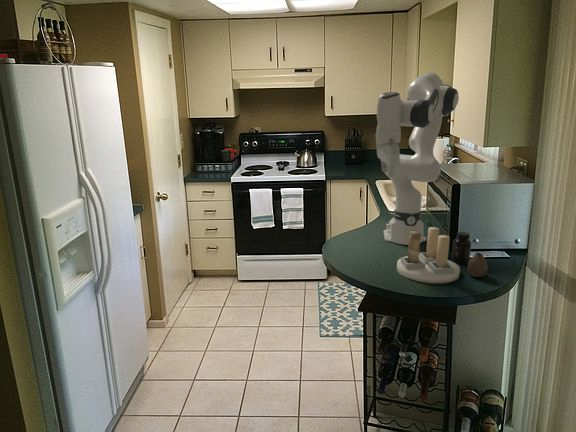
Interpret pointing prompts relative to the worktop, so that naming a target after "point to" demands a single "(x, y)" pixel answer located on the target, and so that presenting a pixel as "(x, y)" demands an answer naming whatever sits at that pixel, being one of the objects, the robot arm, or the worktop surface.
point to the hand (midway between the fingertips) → (387, 174)
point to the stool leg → (414, 247)
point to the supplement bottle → (461, 248)
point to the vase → (477, 265)
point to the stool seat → (431, 262)
